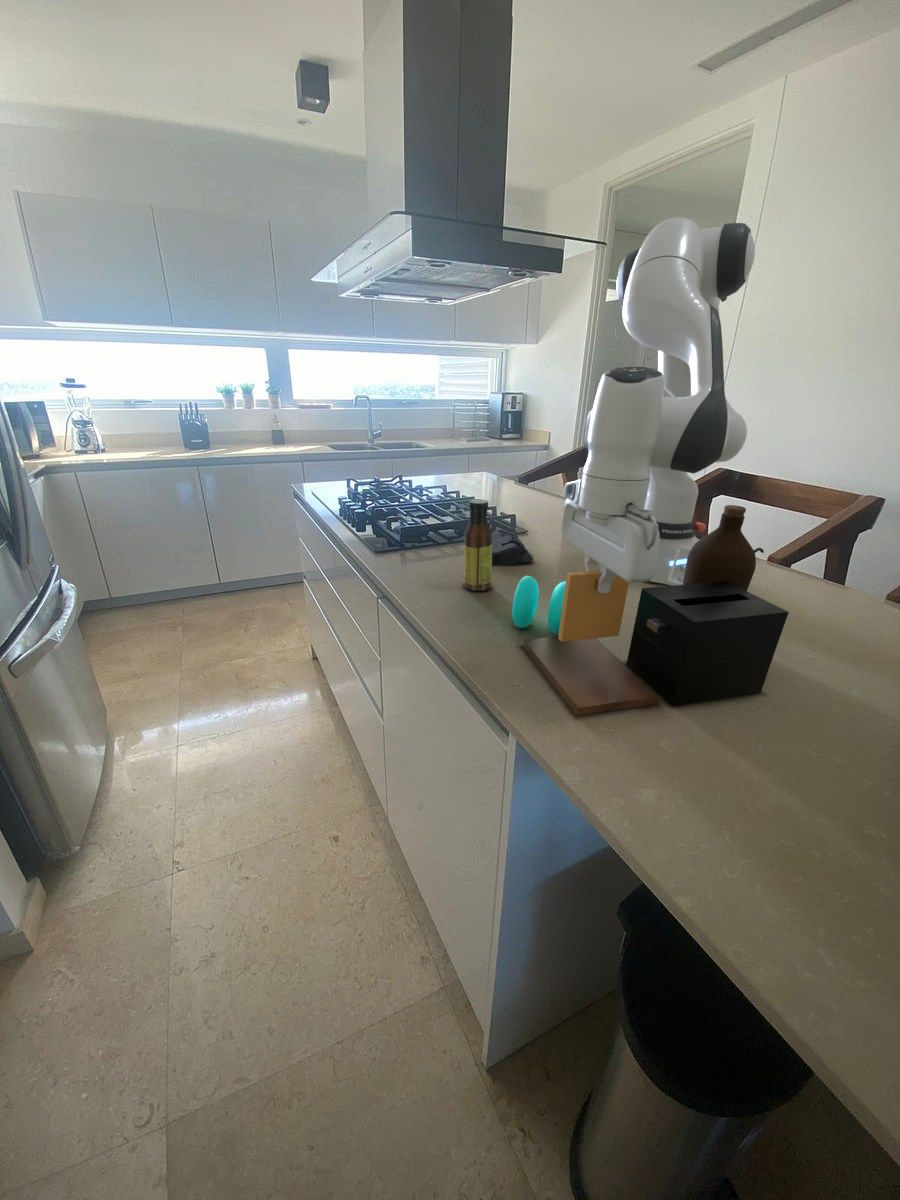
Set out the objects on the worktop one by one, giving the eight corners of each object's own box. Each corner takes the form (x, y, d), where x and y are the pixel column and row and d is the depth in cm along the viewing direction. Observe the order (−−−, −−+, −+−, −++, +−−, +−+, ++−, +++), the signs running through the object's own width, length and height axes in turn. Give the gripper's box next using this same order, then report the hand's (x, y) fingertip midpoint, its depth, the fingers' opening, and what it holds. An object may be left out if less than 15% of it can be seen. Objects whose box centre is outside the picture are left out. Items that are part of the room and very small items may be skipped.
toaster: (705, 654, 86) (726, 580, 80) (760, 692, 75) (789, 611, 70) (617, 665, 82) (632, 588, 76) (662, 707, 71) (684, 623, 65)
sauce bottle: (491, 582, 114) (496, 498, 106) (490, 593, 108) (496, 505, 100) (463, 581, 114) (466, 496, 106) (461, 591, 109) (464, 503, 100)
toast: (614, 632, 78) (626, 568, 74) (618, 635, 77) (631, 571, 73) (557, 638, 76) (567, 572, 71) (561, 641, 75) (570, 575, 70)
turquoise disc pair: (562, 645, 87) (570, 594, 83) (508, 635, 90) (513, 585, 86) (570, 622, 96) (577, 575, 92) (520, 613, 99) (525, 567, 95)
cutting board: (588, 639, 90) (590, 632, 89) (656, 704, 72) (658, 695, 71) (523, 647, 87) (524, 639, 86) (576, 716, 69) (578, 707, 68)
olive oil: (704, 658, 85) (744, 517, 74) (657, 631, 93) (686, 502, 83) (744, 646, 89) (787, 511, 79) (695, 622, 98) (727, 498, 87)
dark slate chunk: (521, 540, 145) (523, 524, 143) (534, 566, 125) (536, 548, 123) (470, 539, 145) (471, 523, 143) (474, 564, 125) (475, 547, 123)
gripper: (681, 514, 59) (658, 616, 65) (595, 481, 77) (583, 564, 83) (636, 515, 57) (616, 620, 63) (559, 482, 75) (549, 566, 81)
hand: (597, 587), depth 73 cm, fingers closed on toast, 1 cm apart
